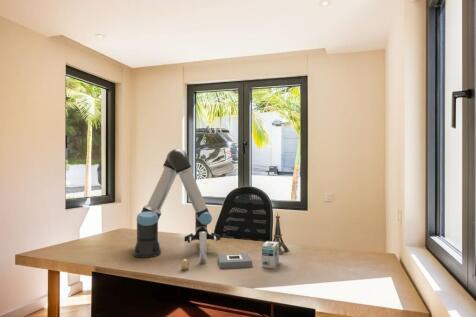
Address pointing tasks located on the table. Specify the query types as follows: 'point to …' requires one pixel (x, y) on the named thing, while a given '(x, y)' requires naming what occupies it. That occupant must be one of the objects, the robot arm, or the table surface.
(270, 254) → the light bulb box
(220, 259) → the flat grey box
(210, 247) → the table surface
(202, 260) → the steel pin
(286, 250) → the eiffel tower
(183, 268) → the brass pin
